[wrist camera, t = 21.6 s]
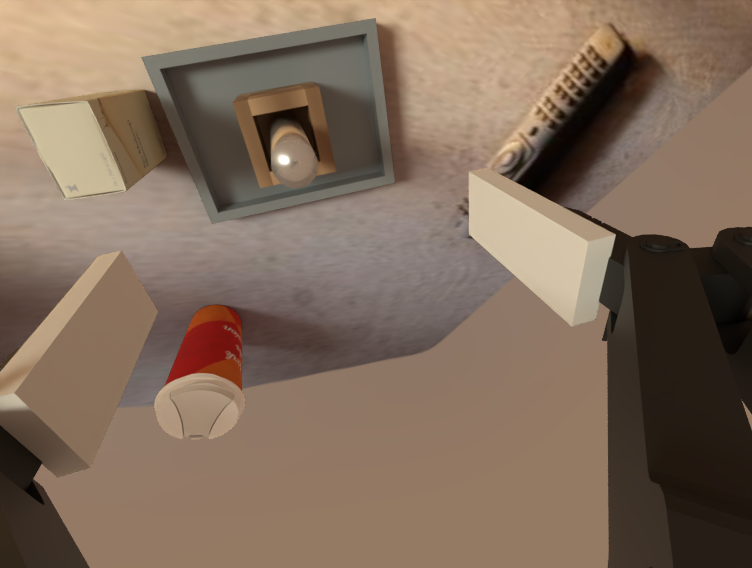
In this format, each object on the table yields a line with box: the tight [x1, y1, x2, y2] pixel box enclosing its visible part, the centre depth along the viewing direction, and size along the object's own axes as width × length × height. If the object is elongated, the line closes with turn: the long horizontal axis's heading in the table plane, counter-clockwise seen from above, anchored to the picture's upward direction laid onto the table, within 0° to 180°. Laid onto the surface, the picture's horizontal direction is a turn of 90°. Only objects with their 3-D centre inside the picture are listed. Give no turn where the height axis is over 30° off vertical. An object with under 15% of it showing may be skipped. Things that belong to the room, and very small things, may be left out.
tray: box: [141, 18, 395, 224], centre depth 37 cm, size 20×15×3 cm
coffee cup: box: [154, 305, 245, 439], centre depth 42 cm, size 8×8×15 cm
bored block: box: [232, 81, 336, 188], centre depth 34 cm, size 7×7×7 cm
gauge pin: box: [270, 113, 318, 188], centre depth 30 cm, size 3×3×14 cm
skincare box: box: [16, 90, 167, 200], centre depth 30 cm, size 6×4×12 cm
